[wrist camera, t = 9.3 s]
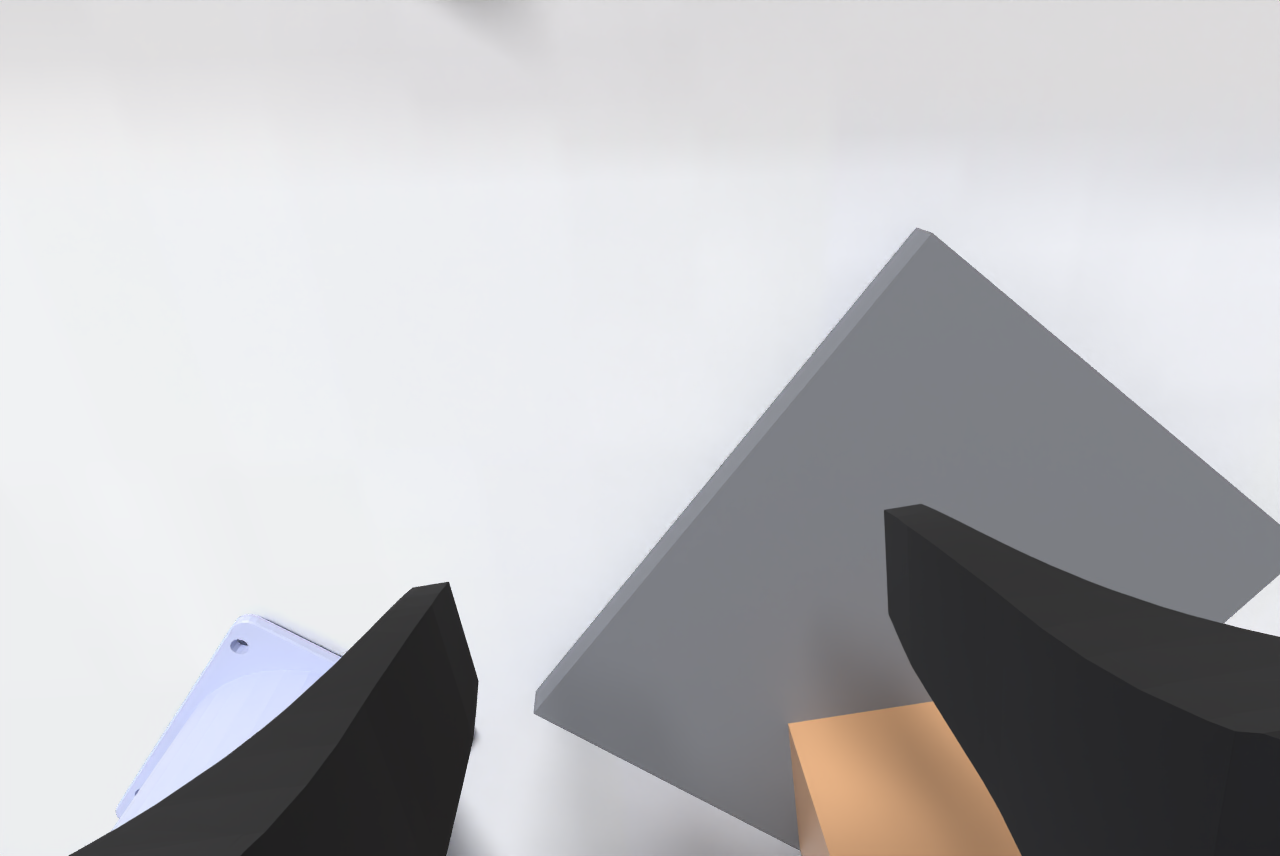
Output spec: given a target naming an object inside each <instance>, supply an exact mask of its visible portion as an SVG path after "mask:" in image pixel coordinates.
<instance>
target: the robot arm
mask: <svg viewBox="0 0 1280 856" xmlns="http://www.w3.org/2000/svg"><path fill="white" fill-rule="evenodd" d="M884 526H885V549H886V572H887V596H888V614H889V617H890V619H891V621H892V624H893V626H894V628H895V631H896V633H897V635H898V638H899V640H900V642H901V644H902V647H903V649H904V651H905V653H906V655H907V657H908V660H909V662H910V664H911V666H912V668H913V669H914V671H915V673H916V674H917V676H918V678H919V679H920V681H921V683H922V684H923V686H924V688H925V689H926V691H927V693H928V694H929V696H930V697H931V699H932V701H933V702H934V704H935V706H936V707H937V709H938V710H939V712H940V714H941V715H942V717H943V718H944V720H945V722H946V723H947V725H948V726H949V728H950V730H951V731H952V733H953V734H954V736H955V738H956V739H957V741H958V742H959V744H960V746H961V747H962V749H963V750H964V752H965V754H966V755H967V757H968V758H969V760H970V762H971V763H972V765H973V766H974V768H975V770H976V771H977V773H978V774H979V776H980V778H981V779H982V781H983V783H984V784H985V786H986V788H987V790H988V791H989V793H990V795H991V797H992V798H993V800H994V802H995V804H996V805H997V807H998V809H999V811H1000V813H1001V815H1002V817H1003V819H1004V821H1005V823H1006V825H1007V827H1008V829H1009V831H1010V833H1011V835H1012V837H1013V839H1014V841H1015V843H1016V845H1017V847H1018V849H1019V852H1020V854H1021V856H1280V637H1277V636H1273V635H1268V634H1264V633H1260V632H1255V631H1251V630H1246V629H1242V628H1238V627H1234V626H1231V625H1227V624H1223V623H1219V622H1215V621H1212V620H1208V619H1204V618H1200V617H1196V616H1192V615H1189V614H1185V613H1182V612H1179V611H1175V610H1172V609H1168V608H1165V607H1162V606H1159V605H1156V604H1153V603H1150V602H1147V601H1144V600H1141V599H1138V598H1135V597H1132V596H1129V595H1126V594H1123V593H1120V592H1117V591H1114V590H1111V589H1109V588H1106V587H1103V586H1101V585H1098V584H1095V583H1093V582H1090V581H1087V580H1085V579H1083V578H1080V577H1078V576H1075V575H1073V574H1071V573H1068V572H1066V571H1063V570H1061V569H1059V568H1056V567H1054V566H1051V565H1049V564H1047V563H1045V562H1042V561H1040V560H1038V559H1036V558H1034V557H1031V556H1029V555H1027V554H1025V553H1023V552H1021V551H1018V550H1016V549H1014V548H1012V547H1010V546H1008V545H1006V544H1004V543H1002V542H1000V541H998V540H996V539H994V538H992V537H990V536H987V535H985V534H983V533H981V532H979V531H977V530H975V529H973V528H971V527H969V526H967V525H966V524H964V523H962V522H960V521H958V520H956V519H953V518H951V517H949V516H947V515H945V514H943V513H941V512H939V511H937V510H935V509H933V508H930V507H928V506H926V505H923V504H916V505H910V506H904V507H898V508H892V509H886V510H884ZM237 639H240V640H243V641H245V642H246V643H247V644H248V645H247V646H245V645H241V644H240V643H239V642H238V641H237ZM477 693H478V678H477V675H476V671H475V668H474V665H473V661H472V658H471V655H470V651H469V648H468V644H467V641H466V638H465V634H464V631H463V628H462V624H461V621H460V618H459V614H458V611H457V608H456V604H455V601H454V597H453V594H452V591H451V587H450V584H449V582H445V583H438V584H432V585H426V586H420V587H414V588H412V589H411V590H409V591H408V592H407V593H406V594H405V595H404V596H403V597H401V598H400V599H399V600H398V601H397V602H396V603H395V604H394V605H393V606H392V607H391V608H390V609H389V610H388V611H387V612H386V613H385V614H384V615H383V616H382V617H381V618H380V619H379V620H378V621H377V622H376V623H375V624H374V625H373V626H372V627H371V628H370V630H369V631H368V632H367V633H366V634H365V635H364V636H363V637H362V638H361V639H359V640H358V641H357V642H356V643H355V644H354V645H353V646H352V647H351V648H350V649H349V650H348V651H347V652H346V653H345V654H344V655H343V656H342V657H340V656H338V655H336V654H334V653H332V652H330V651H328V650H326V649H324V648H322V647H320V646H318V645H316V644H314V643H312V642H310V641H308V640H306V639H304V638H302V637H300V636H298V635H296V634H294V633H292V632H290V631H288V630H286V629H284V628H282V627H280V626H278V625H276V624H274V623H272V622H270V621H268V620H266V619H264V618H262V617H260V616H256V615H253V614H246V615H243V616H240V617H239V618H238V619H237V620H236V621H235V623H234V624H233V625H232V627H231V628H230V630H229V631H228V633H227V635H226V636H225V638H224V639H223V641H222V642H221V644H220V646H219V647H218V649H217V650H216V652H215V653H214V655H213V657H212V658H211V660H210V661H209V663H208V664H207V666H206V668H205V669H204V671H203V672H202V674H201V675H200V677H199V679H198V680H197V682H196V683H195V685H194V686H193V688H192V690H191V691H190V693H189V694H188V696H187V697H186V699H185V701H184V702H183V704H182V705H181V707H180V708H179V710H178V711H177V713H176V715H175V716H174V718H173V719H172V721H171V722H170V724H169V726H168V727H167V729H166V730H165V732H164V733H163V735H162V737H161V738H160V740H159V741H158V743H157V744H156V746H155V748H154V749H153V751H152V752H151V754H150V755H149V757H148V759H147V760H146V762H145V763H144V765H143V766H142V768H141V770H140V771H139V773H138V774H137V776H136V777H135V779H134V781H133V782H132V784H131V785H130V787H129V788H128V790H127V792H126V793H125V795H124V796H123V798H122V799H121V801H120V802H119V804H118V806H117V808H116V815H117V817H118V818H119V820H118V822H117V823H116V825H115V826H114V828H113V829H112V830H111V832H109V833H108V834H106V835H104V836H102V837H101V838H99V839H97V840H95V841H94V842H92V843H90V844H88V845H87V846H85V847H83V848H81V849H80V850H78V851H76V852H74V853H73V854H71V855H69V856H446V854H447V850H448V846H449V841H450V837H451V833H452V829H453V824H454V820H455V816H456V812H457V807H458V803H459V799H460V795H461V790H462V786H463V782H464V777H465V773H466V769H467V764H468V760H469V755H470V751H471V746H472V741H473V736H474V726H475V717H476V706H477Z"/></svg>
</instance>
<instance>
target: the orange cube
mask: <svg viewBox="0 0 1280 856" xmlns="http://www.w3.org/2000/svg"><path fill="white" fill-rule="evenodd" d="M788 729H789V740H790V750H791V761H792V772H793V782H794V793H795V803H796V814H797V824H798V835H799V845H800V851H801V854H802V856H1021V854H1020V852H1019V849H1018V847H1017V845H1016V843H1015V841H1014V839H1013V837H1012V835H1011V833H1010V831H1009V829H1008V827H1007V825H1006V823H1005V821H1004V819H1003V817H1002V815H1001V813H1000V811H999V809H998V807H997V805H996V804H995V802H994V800H993V798H992V797H991V795H990V793H989V791H988V790H987V788H986V786H985V784H984V783H983V781H982V779H981V778H980V776H979V774H978V773H977V771H976V770H975V768H974V766H973V765H972V763H971V762H970V760H969V758H968V757H967V755H966V754H965V752H964V750H963V749H962V747H961V746H960V744H959V742H958V741H957V739H956V738H955V736H954V734H953V733H952V731H951V730H950V728H949V726H948V725H947V723H946V722H945V720H944V718H943V717H942V715H941V714H940V712H939V710H938V709H937V707H936V706H935V704H934V702H933V701H932V702H925V703H919V704H912V705H906V706H899V707H893V708H886V709H880V710H873V711H867V712H860V713H854V714H847V715H841V716H834V717H828V718H821V719H815V720H808V721H802V722H795V723H789V724H788Z"/></svg>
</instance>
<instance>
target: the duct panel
mask: <svg viewBox="0 0 1280 856" xmlns="http://www.w3.org/2000/svg"><path fill="white" fill-rule="evenodd" d="M916 504H923V505H926V506H928V507H930V508H933V509H935V510H937V511H939V512H941V513H943V514H945V515H947V516H949V517H951V518H953V519H956V520H958V521H960V522H962V523H964V524H966V525H967V526H969V527H971V528H973V529H975V530H977V531H979V532H981V533H983V534H985V535H987V536H990V537H992V538H994V539H996V540H998V541H1000V542H1002V543H1004V544H1006V545H1008V546H1010V547H1012V548H1014V549H1016V550H1018V551H1021V552H1023V553H1025V554H1027V555H1029V556H1031V557H1034V558H1036V559H1038V560H1040V561H1042V562H1045V563H1047V564H1049V565H1051V566H1054V567H1056V568H1059V569H1061V570H1063V571H1066V572H1068V573H1071V574H1073V575H1075V576H1078V577H1080V578H1083V579H1085V580H1087V581H1090V582H1093V583H1095V584H1098V585H1101V586H1103V587H1106V588H1109V589H1111V590H1114V591H1117V592H1120V593H1123V594H1126V595H1129V596H1132V597H1135V598H1138V599H1141V600H1144V601H1147V602H1150V603H1153V604H1156V605H1159V606H1162V607H1165V608H1168V609H1172V610H1175V611H1179V612H1182V613H1185V614H1189V615H1192V616H1196V617H1200V618H1204V619H1208V620H1212V621H1215V622H1219V623H1224V622H1226V621H1227V620H1228V619H1229V618H1230V617H1231V616H1232V615H1234V614H1235V613H1236V612H1237V611H1238V610H1239V609H1240V608H1242V607H1243V606H1244V605H1245V604H1246V603H1247V602H1248V601H1250V600H1251V599H1252V598H1253V597H1254V596H1255V595H1256V594H1258V593H1259V592H1260V591H1261V590H1262V589H1263V588H1264V587H1266V586H1267V585H1268V584H1269V583H1270V582H1271V581H1272V580H1274V579H1275V578H1276V577H1277V576H1278V575H1279V574H1280V524H1278V523H1277V522H1276V521H1275V520H1274V519H1272V518H1271V517H1270V516H1269V515H1268V514H1266V513H1265V512H1264V511H1263V510H1262V509H1261V508H1259V507H1258V506H1257V505H1256V504H1255V503H1253V502H1252V501H1251V500H1250V499H1249V498H1247V497H1246V496H1245V495H1244V494H1243V493H1241V492H1240V491H1239V490H1238V489H1237V488H1236V487H1234V486H1233V485H1232V484H1231V483H1230V482H1228V481H1227V480H1226V479H1225V478H1224V477H1222V476H1221V475H1220V474H1219V473H1218V472H1216V471H1215V470H1214V469H1213V468H1212V467H1210V466H1209V465H1208V464H1207V463H1206V462H1205V461H1203V460H1202V459H1201V458H1200V457H1199V456H1197V455H1196V454H1195V453H1194V452H1193V451H1191V450H1190V449H1189V448H1188V447H1187V446H1185V445H1184V444H1183V443H1182V442H1181V441H1180V440H1178V439H1177V438H1176V437H1175V436H1174V435H1172V434H1171V433H1170V432H1169V431H1168V430H1166V429H1165V428H1164V427H1163V426H1162V425H1160V424H1159V423H1158V422H1157V421H1156V420H1155V419H1153V418H1152V417H1151V416H1150V415H1149V414H1147V413H1146V412H1145V411H1144V410H1143V409H1141V408H1140V407H1139V406H1138V405H1137V404H1135V403H1134V402H1133V401H1132V400H1131V399H1129V398H1128V397H1127V396H1126V395H1125V394H1124V393H1122V392H1121V391H1120V390H1119V389H1118V388H1116V387H1115V386H1114V385H1113V384H1112V383H1110V382H1109V381H1108V380H1107V379H1106V378H1104V377H1103V376H1102V375H1101V374H1100V373H1099V372H1097V371H1096V370H1095V369H1094V368H1093V367H1091V366H1090V365H1089V364H1088V363H1087V362H1085V361H1084V360H1083V359H1082V358H1081V357H1079V356H1078V355H1077V354H1076V353H1075V352H1073V351H1072V350H1071V349H1070V348H1069V347H1068V346H1066V345H1065V344H1064V343H1063V342H1062V341H1060V340H1059V339H1058V338H1057V337H1056V336H1054V335H1053V334H1052V333H1051V332H1050V331H1048V330H1047V329H1046V328H1045V327H1044V326H1043V325H1041V324H1040V323H1039V322H1038V321H1037V320H1035V319H1034V318H1033V317H1032V316H1031V315H1029V314H1028V313H1027V312H1026V311H1025V310H1023V309H1022V308H1021V307H1020V306H1019V305H1017V304H1016V303H1015V302H1014V301H1013V300H1012V299H1010V298H1009V297H1008V296H1007V295H1006V294H1004V293H1003V292H1002V291H1001V290H1000V289H998V288H997V287H996V286H995V285H994V284H992V283H991V282H990V281H989V280H988V279H987V278H985V277H984V276H983V275H982V274H981V273H979V272H978V271H977V270H976V269H975V268H973V267H972V266H971V265H970V264H969V263H967V262H966V261H965V260H964V259H963V258H962V257H960V256H959V255H958V254H957V253H956V252H954V251H953V250H952V249H951V248H950V247H948V246H947V245H946V244H945V243H944V242H942V241H941V240H940V239H939V238H938V237H936V236H935V235H934V234H933V233H931V232H928V231H925V230H922V229H919V228H916V229H915V230H914V231H913V233H912V234H911V235H910V236H909V237H908V239H907V240H906V241H905V242H904V244H903V245H902V246H901V247H900V248H899V250H898V251H897V252H896V253H895V254H894V256H893V257H892V258H891V259H890V261H889V262H888V263H887V264H886V265H885V267H884V268H883V269H882V270H881V272H880V273H879V274H878V275H877V276H876V278H875V279H874V280H873V281H872V283H871V284H870V285H869V286H868V287H867V289H866V290H865V291H864V292H863V293H862V295H861V296H860V297H859V298H858V300H857V301H856V302H855V303H854V304H853V306H852V307H851V308H850V309H849V311H848V312H847V313H846V314H845V315H844V317H843V318H842V319H841V320H840V321H839V323H838V324H837V325H836V326H835V328H834V329H833V330H832V331H831V332H830V334H829V335H828V336H827V337H826V339H825V340H824V341H823V342H822V343H821V345H820V346H819V347H818V348H817V350H816V351H815V352H814V353H813V354H812V356H811V357H810V358H809V359H808V360H807V362H806V363H805V364H804V365H803V367H802V368H801V369H800V370H799V371H798V373H797V374H796V375H795V376H794V378H793V379H792V380H791V381H790V382H789V384H788V385H787V386H786V387H785V389H784V390H783V391H782V392H781V393H780V395H779V396H778V397H777V398H776V399H775V401H774V402H773V403H772V404H771V406H770V407H769V408H768V409H767V410H766V412H765V413H764V414H763V415H762V417H761V418H760V419H759V420H758V421H757V423H756V424H755V425H754V426H753V428H752V429H751V430H750V431H749V432H748V434H747V435H746V436H745V437H744V438H743V440H742V441H741V442H740V443H739V445H738V446H737V447H736V448H735V449H734V451H733V452H732V453H731V454H730V456H729V457H728V458H727V459H726V460H725V462H724V463H723V464H722V465H721V466H720V468H719V469H718V470H717V471H716V473H715V474H714V475H713V476H712V477H711V479H710V480H709V481H708V482H707V484H706V485H705V486H704V487H703V488H702V490H701V491H700V492H699V493H698V495H697V496H696V497H695V498H694V499H693V501H692V502H691V503H690V504H689V505H688V507H687V508H686V509H685V510H684V512H683V513H682V514H681V515H680V516H679V518H678V519H677V520H676V521H675V523H674V524H673V525H672V526H671V527H670V529H669V530H668V531H667V532H666V534H665V535H664V536H663V537H662V538H661V540H660V541H659V542H658V543H657V544H656V546H655V547H654V548H653V549H652V551H651V552H650V553H649V554H648V555H647V557H646V558H645V559H644V560H643V562H642V563H641V564H640V565H639V566H638V568H637V569H636V570H635V571H634V573H633V574H632V575H631V576H630V577H629V579H628V580H627V581H626V582H625V583H624V585H623V586H622V587H621V588H620V590H619V591H618V592H617V593H616V594H615V596H614V597H613V598H612V599H611V601H610V602H609V603H608V604H607V605H606V607H605V608H604V609H603V610H602V612H601V613H600V614H599V615H598V616H597V618H596V619H595V620H594V621H593V622H592V624H591V625H590V626H589V627H588V629H587V630H586V631H585V632H584V633H583V635H582V636H581V637H580V638H579V640H578V641H577V642H576V643H575V644H574V646H573V647H572V648H571V649H570V650H569V652H568V653H567V654H566V655H565V657H564V658H563V659H562V660H561V661H560V663H559V664H558V665H557V666H556V668H555V669H554V670H553V671H552V672H551V674H550V675H549V676H548V677H547V679H546V680H545V681H544V682H543V683H542V685H541V686H540V687H539V688H538V689H537V691H536V696H535V705H534V714H536V715H538V716H540V717H541V718H543V719H545V720H547V721H549V722H551V723H553V724H555V725H557V726H559V727H561V728H563V729H565V730H567V731H569V732H571V733H573V734H575V735H576V736H578V737H580V738H582V739H584V740H586V741H588V742H590V743H592V744H594V745H596V746H598V747H600V748H602V749H604V750H606V751H608V752H609V753H611V754H613V755H615V756H617V757H619V758H621V759H623V760H625V761H627V762H629V763H631V764H633V765H635V766H637V767H639V768H641V769H643V770H644V771H646V772H648V773H650V774H652V775H654V776H656V777H658V778H660V779H662V780H664V781H666V782H668V783H670V784H672V785H674V786H676V787H677V788H679V789H681V790H683V791H685V792H687V793H689V794H691V795H693V796H695V797H697V798H699V799H701V800H703V801H705V802H707V803H709V804H711V805H712V806H714V807H716V808H718V809H720V810H722V811H724V812H726V813H728V814H730V815H732V816H734V817H736V818H738V819H740V820H742V821H744V822H745V823H747V824H749V825H751V826H753V827H755V828H757V829H759V830H761V831H763V832H765V833H767V834H769V835H771V836H773V837H775V838H777V839H779V840H780V841H782V842H784V843H786V844H788V845H790V846H792V847H794V848H796V849H798V850H800V845H799V835H798V824H797V814H796V803H795V793H794V782H793V772H792V761H791V750H790V740H789V729H788V724H789V723H795V722H802V721H808V720H815V719H821V718H828V717H834V716H841V715H847V714H854V713H860V712H867V711H873V710H880V709H886V708H893V707H899V706H906V705H912V704H919V703H925V702H932V699H931V697H930V696H929V694H928V693H927V691H926V689H925V688H924V686H923V684H922V683H921V681H920V679H919V678H918V676H917V674H916V673H915V671H914V669H913V668H912V666H911V664H910V662H909V660H908V657H907V655H906V653H905V651H904V649H903V647H902V644H901V642H900V640H899V638H898V635H897V633H896V631H895V628H894V626H893V624H892V621H891V619H890V617H889V614H888V596H887V572H886V549H885V526H884V510H886V509H892V508H898V507H904V506H910V505H916Z"/></svg>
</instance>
